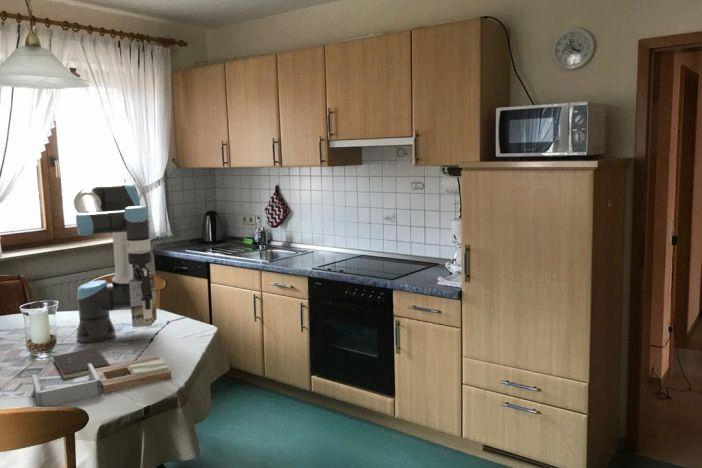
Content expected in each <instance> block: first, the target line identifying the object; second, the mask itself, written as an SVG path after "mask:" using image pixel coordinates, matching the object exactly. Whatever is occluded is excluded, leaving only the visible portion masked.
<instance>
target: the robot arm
mask: <svg viewBox="0 0 702 468" xmlns="http://www.w3.org/2000/svg"><path fill="white" fill-rule="evenodd" d="M73 205H74V209H75V210H76V212H77V214H76V215H75V220H76V221H75V224H76V232H77V234H78V235H80V236H92V235H93V236H94V235H101V234H102V235H103V234H112V244H113V245H112V246H113V259H114V271H115V275H114V276H113V277H112V278H111V282H109V283H108V282H107V280H104V279H102V280H99V279H98V280H93V281H90V282H86V283H84V284H81V285H80V286H78V288H77V290H76V291H77V292H76V293H77V294H76V295H77V298H76V299H77V306H78V307H77V308H78V316H79V322H78V327H77V330H76V331H77V332H76V341H78V342H80V343H97V342H103V341H106V340H110V339H112V338H114V337H115V336H116V328H115V326H114V324H113V322H112V319H111V317H110V312H112V311H113V312H114V311H120V310H121V311H122V310H129V309H131V300H130V287H129V281H130V280H131V279H133V278H134V277H135V278H136V277H137V278H138V280H139V281H140V280H142V284H141V291H142V296H143V298H142V299H141V301H142V302H143V315H144V319H148V318H152V305H151V299H152V298H153V296H152V290H151V284H150V277H149V275H150V269H148V267H147V264H151V262H152V252H151V250H152V248H151V247H152V245H151V237H150V223H149V222H150V221H149V217H150V216H149V211H148V207H147V206H145V205H141V199H140V196H139V193H138V189H137V187H136V185H135V184H134V183H131V182H129V183H127V182H119V183H107V184H106V183H105V184H93V185H90V186H87V187H85V188H83V189H81V190H80V191H78V193H77V194H76V195H75V197H74V200H73ZM146 295H149V296H146Z"/></svg>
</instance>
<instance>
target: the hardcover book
mask: <svg viewBox="0 0 702 468" xmlns="http://www.w3.org/2000/svg"><path fill="white" fill-rule="evenodd" d="M52 358H53V360H54V362H55V364H56V366H57V367H58V370H59V371H60V373H61V375H62V377H63V379H64V380H65V379H70V378H74V377H78V376H84V375H85V376H86V375H89V373H88V364H90V363H91V364H92V365H93V367H94V369H97V368H102V367H107V366H112V365H111V364H110V363H109V362H108V360H107V359H106V358H105V356H104V355H103V354H102V353H101V351H100V350H99V349H98V348H97V347H92V348H88V349H84V350H77V351H72V352H67V353H61V354H57V355H53V356H52Z"/></svg>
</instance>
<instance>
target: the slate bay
mask: <svg viewBox="0 0 702 468" xmlns="http://www.w3.org/2000/svg"><path fill="white" fill-rule="evenodd" d="M88 373H89V374H88V379H89V381H85V382H79V383H74V384H69V385H64V386H60V387H55V388H51V389H46V390H45V389H44V390H41V388H40V387H41V386H40V383H39V379H38V376H37V373H35V374H32V375H31V378H32V386H33V391H34V392H33V393H34V396H35V400H36V403H37V408H38V407H45V408H48V407H53V406H59V405H62V404H67V403H72V402H75V401H76V402H77V401H81V400H85V399H88V398H89V399H90V398H94V397H98V396H102V395H103V390H102V388H101V380H100V378H99V376H98V374H97V373H96V371H95V369H94V367H93V365H92V364H91V363H90V364H88Z"/></svg>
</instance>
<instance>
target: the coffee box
mask: <svg viewBox="0 0 702 468" xmlns="http://www.w3.org/2000/svg"><path fill="white" fill-rule="evenodd" d="M149 277H150V284H151V290H152V296H153V298H152V299H151V305H152V318H148V319H144V315H143V302H142V301H141V299H142V298H143V296H142V291H141V284H142V280H140V281H139V280H138V278H137V277H136V278H135V277H134V278H133V279H131V280H130V281H129V287H130V300H131V308H130V312H131V323H132V328H142V327H151V326H152V325H153V324H154V323H156V321H157V319H158V315H157V304H156V303H157V302H156V291H155V290H156V288H155V275H153V274H149ZM146 296H149V295H146Z"/></svg>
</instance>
